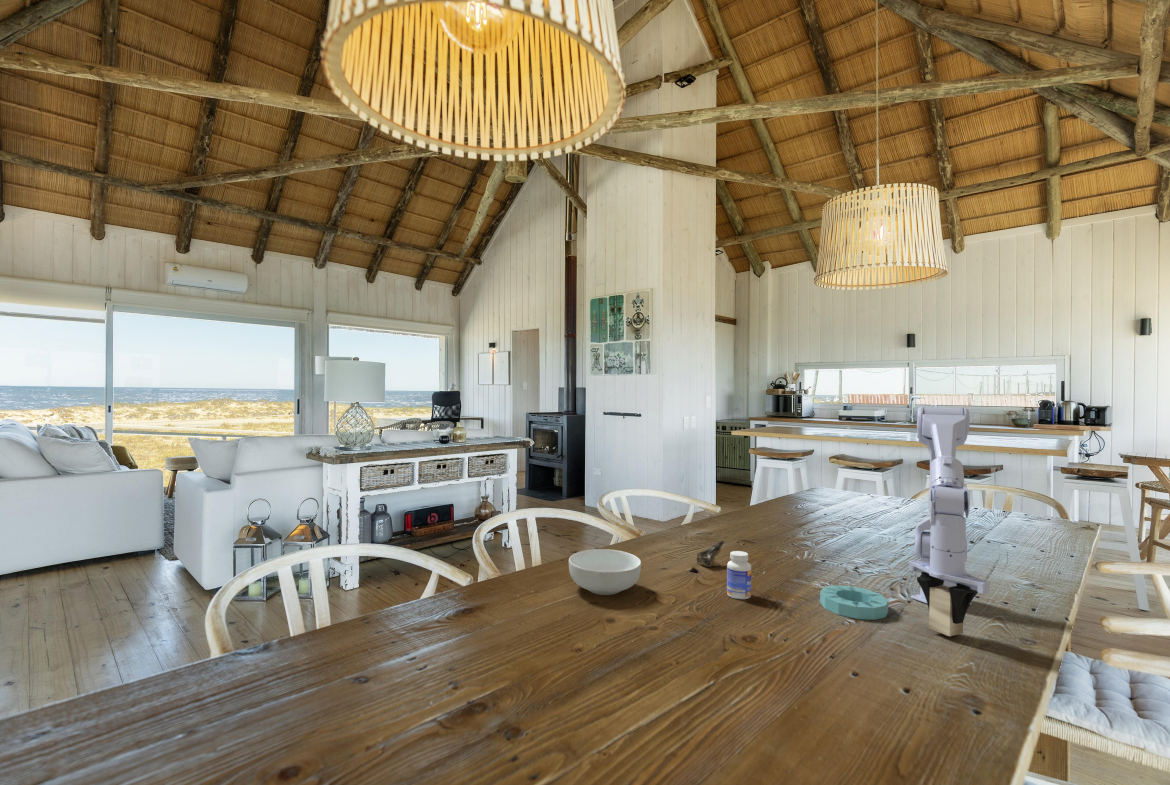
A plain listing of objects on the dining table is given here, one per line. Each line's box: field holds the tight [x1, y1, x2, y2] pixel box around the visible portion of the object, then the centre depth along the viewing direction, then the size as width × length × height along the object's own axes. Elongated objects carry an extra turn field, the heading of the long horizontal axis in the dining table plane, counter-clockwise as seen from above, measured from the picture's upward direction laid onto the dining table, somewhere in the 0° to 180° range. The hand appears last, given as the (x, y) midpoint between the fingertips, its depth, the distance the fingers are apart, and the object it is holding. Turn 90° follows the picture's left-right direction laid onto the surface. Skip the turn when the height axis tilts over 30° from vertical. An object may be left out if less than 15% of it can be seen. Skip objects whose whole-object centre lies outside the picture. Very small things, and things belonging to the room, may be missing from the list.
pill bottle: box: [726, 550, 752, 600], centre depth 128 cm, size 5×5×10 cm
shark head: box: [696, 540, 725, 568], centre depth 151 cm, size 8×6×7 cm
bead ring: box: [819, 584, 889, 621], centre depth 122 cm, size 13×13×2 cm
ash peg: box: [928, 585, 964, 637], centre depth 109 cm, size 4×4×8 cm
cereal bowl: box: [568, 548, 642, 596], centre depth 131 cm, size 17×17×7 cm
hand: (946, 618), depth 109 cm, fingers closed on ash peg, 4 cm apart
